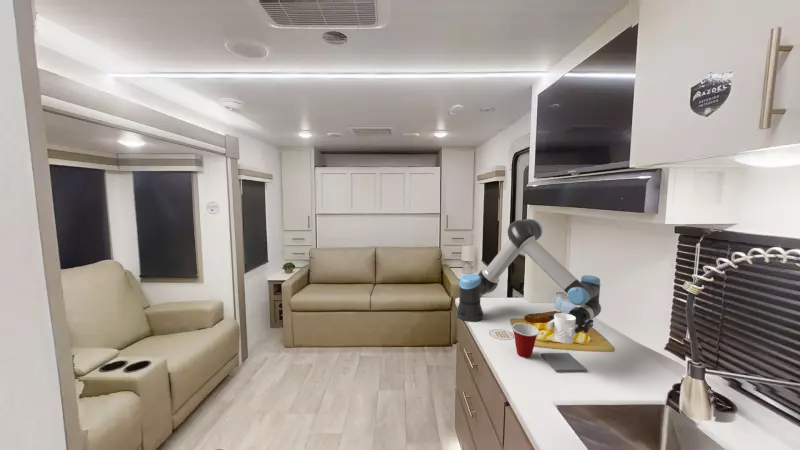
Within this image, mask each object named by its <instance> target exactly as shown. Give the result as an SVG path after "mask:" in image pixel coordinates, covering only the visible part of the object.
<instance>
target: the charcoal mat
mask: <svg viewBox="0 0 800 450" xmlns="http://www.w3.org/2000/svg"><path fill="white" fill-rule="evenodd" d="M540 356H541V358H542V359H544V361H545V362H546V363H547V364H548V365H549V366H550V367H551V368H552V369H553V370H554V372H556V373H587V372H588V369H587V368H586V366H584V365H583V364H582V363H580V362H579V361H578V360H577V359H576V358H575V357H574V356H573V355H572V354H570V353H569V352H544V353H543V352H541V353H540Z"/></svg>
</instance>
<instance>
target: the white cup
mask: <svg viewBox="0 0 800 450" xmlns="http://www.w3.org/2000/svg"><path fill="white" fill-rule="evenodd" d="M566 313H567V312H566ZM566 313H565V312H562V313H559V312H556V313H554V314H553V315H554V327H553V331H554V340H555V341H556V342H558V343H560V344H566V345H570V344H573V343H574V338H575V334H574V335H573V336H569V333H570V328H572V327H573V326H575V325H576V317H575V316H573V315H570V314H566Z"/></svg>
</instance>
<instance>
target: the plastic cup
mask: <svg viewBox="0 0 800 450" xmlns="http://www.w3.org/2000/svg"><path fill="white" fill-rule="evenodd" d="M511 329H512V330H513V334H514V342H515V348H516V349H515V350H516V354H517V355H518V357H521V358H524V359H529V358H531V357H532V356H533V350H534V347H535V344H536V340H537V337H538V335H539V334H540V330H539V328H537V327H536V326H534V325H532V324H529V323H524V322H518V323H517V322H516V323H514V324H513V325H512V327H511Z"/></svg>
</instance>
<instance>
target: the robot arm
mask: <svg viewBox="0 0 800 450" xmlns="http://www.w3.org/2000/svg"><path fill="white" fill-rule="evenodd" d="M542 234H543V227H542V225H541V223H540V222H539V221H538V220H536V219H533V218H532V219H531V218H526V219H518V220H514V221H513V222H511V223H510V224H509V225H508V228H507V237H508V241H507V242H506V243H505V244H504V246H503V247H502V248H501V250H499V252H498V253H497V254H496V255H495V256H494V258H493V259H492V261H491V262H490V263H489V264H488V265H487V267H483V268H482V269H481V270H480V271H479V272H478V273H477V274H476V273H467V274H463V275H461V277H460V278H459V283H458V284H459V292H458V293H459V299H458V300H459V303H458V305H457V308H456V311H455V317H456V318H458V319H460V320H462V321H464V322H465V321H466V322H478V321H482V320H483V318H484V312H483V311H484V310H483V308H482V306H481V296H483V295H486V294H491V292H494V290H496V289H497V288H498V284H499V282H500V277H501V275H503V273H504V272H505V271H506V270H507V268H508V267H510V265H511V263H512V262H513V261H514V260H515V259H516V258H517V257H518V256H519V254H521V252H522V251H523V252H524V253H525V254H526V255H527V256H528V257H529V258H530V259H531V260H532V261H533V262H534V263H535V264H537V266H538V267H539V268H540V269H541V270H542V271H543V272H544V273H545V274H547V276H548V277H550V278H551V279H552V280H553V281H554V283H556V285H558V286H559V287H560V288H561V289H562V290H563V291H564V293H566V297H567V299H568V301H569V302H570V303H571V304H573V305H575V306H574V307H573V308H572V309H570V311H569V312H568V313H567V312H566V314H570V315H573V316H575V317H576V324H575V326H573V327H572V328H570V333H569V336H573V335H574V336H575V334H580V333H582V332H584V333H586V334H588V332H589V331H590V329H591V328H592V327H594V320H593V319H594V318H596V317H598V316H599V314H600V313H601V311H602V305H601V304H600V295H601V293H600V292H601V291H600V290H601V278H599V277H597V276H594V275H588V274H587V275H582V276H581V278H580V279H581V280H578V278H576V277H575V276H574V275H573V274H572V273H571V272H570V271H569V270H568V269H567V268H566V267H565V266H564V265H562V263H560V261H558V259H556V258H555V257H554V256H553V255H552V254H551V253H550V252H549V251H548V250H547V249H545V248H544V247H543V245H541V244H540V243H539V241H538V240H540V238H541V237H542ZM558 313H563V312H562V311H561V310H560V311H558ZM551 329H554V314H551V315H549V316H548V322H547V330H551Z"/></svg>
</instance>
